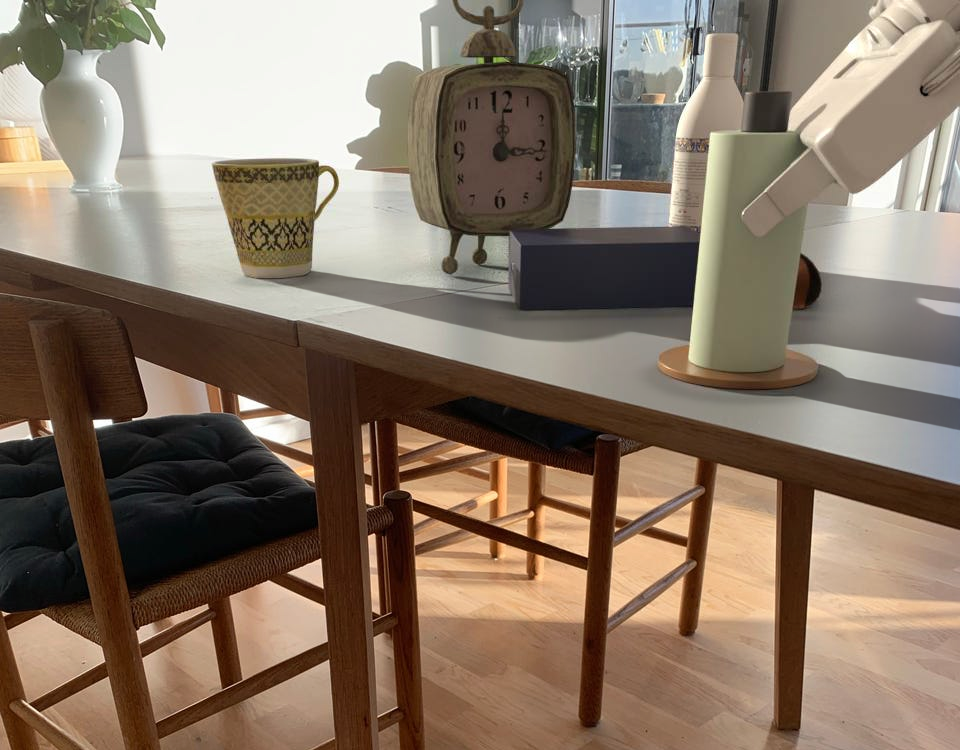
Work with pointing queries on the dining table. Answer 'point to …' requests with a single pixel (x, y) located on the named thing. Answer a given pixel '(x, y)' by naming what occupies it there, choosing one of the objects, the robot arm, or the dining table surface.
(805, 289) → the sunglasses case
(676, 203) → the bath foam
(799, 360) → the coaster
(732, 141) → the bottle
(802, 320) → the dining table surface
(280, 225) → the ceramic cup
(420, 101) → the tabletop clock
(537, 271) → the navy case
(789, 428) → the dining table surface
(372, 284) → the dining table surface
